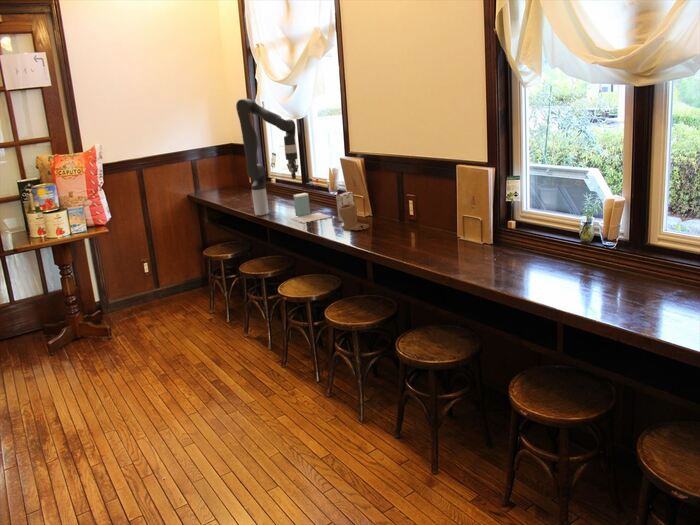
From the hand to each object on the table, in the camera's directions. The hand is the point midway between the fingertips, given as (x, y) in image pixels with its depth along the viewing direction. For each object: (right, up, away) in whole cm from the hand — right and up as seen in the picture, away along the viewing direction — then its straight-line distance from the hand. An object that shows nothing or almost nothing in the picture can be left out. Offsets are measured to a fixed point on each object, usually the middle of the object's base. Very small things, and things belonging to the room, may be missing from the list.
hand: (294, 178), depth 401 cm
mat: (+12, -26, -9) cm, 30 cm away
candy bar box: (+34, -28, -22) cm, 50 cm away
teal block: (+6, -24, +1) cm, 25 cm away
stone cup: (+38, -36, -46) cm, 70 cm away
